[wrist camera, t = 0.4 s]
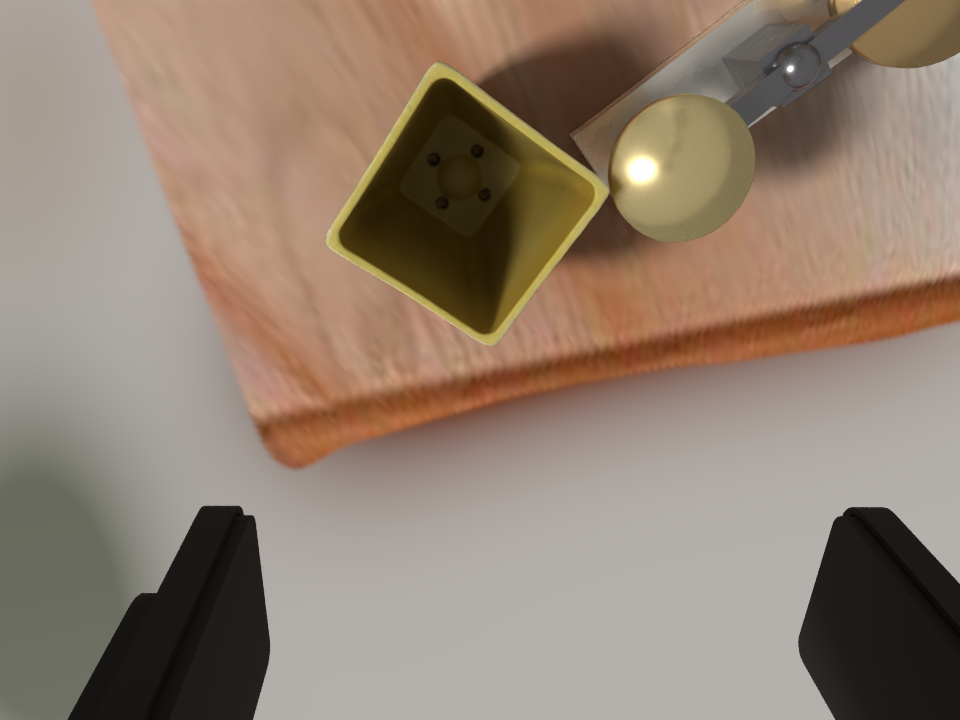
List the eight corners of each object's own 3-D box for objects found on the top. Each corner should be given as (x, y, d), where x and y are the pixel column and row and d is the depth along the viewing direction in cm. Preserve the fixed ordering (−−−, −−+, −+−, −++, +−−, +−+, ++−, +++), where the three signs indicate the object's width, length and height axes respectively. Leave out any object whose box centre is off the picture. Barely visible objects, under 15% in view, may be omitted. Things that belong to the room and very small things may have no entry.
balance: (909, -169, 32) (1050, -230, 24) (972, -8, 35) (1116, -20, 27) (544, 116, 36) (570, 137, 29) (627, 238, 39) (670, 286, 32)
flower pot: (578, 155, 37) (616, 190, 29) (482, 287, 40) (492, 352, 32) (438, 50, 35) (436, 55, 27) (346, 198, 38) (319, 243, 29)
